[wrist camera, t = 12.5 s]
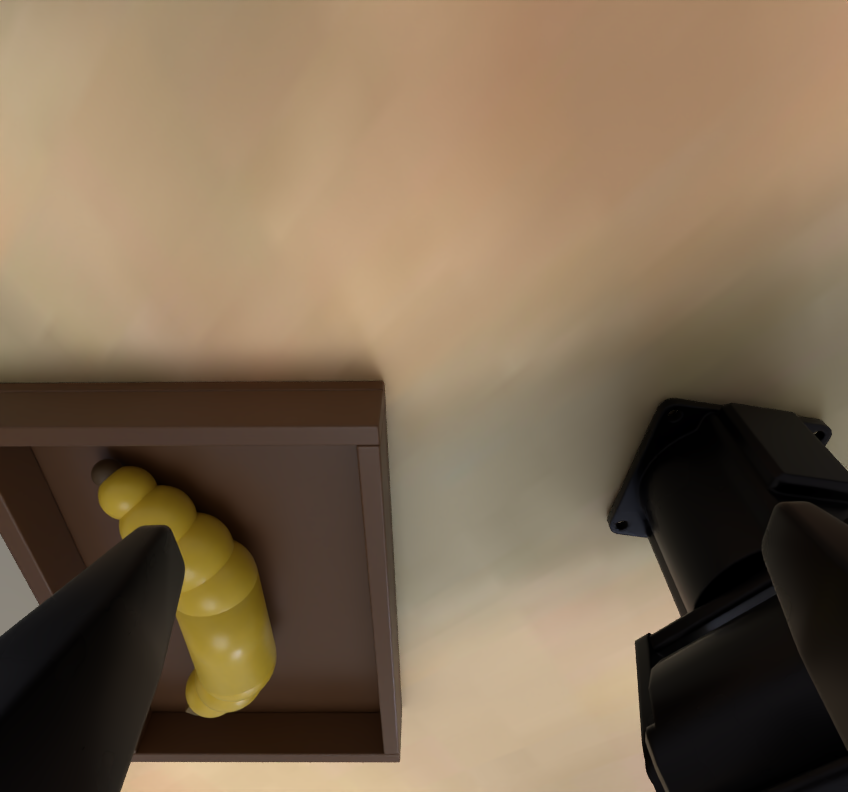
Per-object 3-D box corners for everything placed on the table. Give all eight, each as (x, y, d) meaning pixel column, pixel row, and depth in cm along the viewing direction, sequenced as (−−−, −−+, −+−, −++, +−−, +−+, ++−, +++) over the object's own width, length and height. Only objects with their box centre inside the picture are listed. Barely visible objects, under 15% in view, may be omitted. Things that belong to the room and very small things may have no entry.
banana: (296, 685, 31) (282, 754, 28) (188, 685, 31) (163, 754, 28) (244, 449, 22) (217, 513, 19) (97, 450, 22) (49, 514, 20)
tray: (402, 709, 33) (400, 763, 30) (146, 708, 33) (124, 762, 31) (384, 380, 21) (379, 426, 19) (-7, 382, 22) (-60, 428, 19)
